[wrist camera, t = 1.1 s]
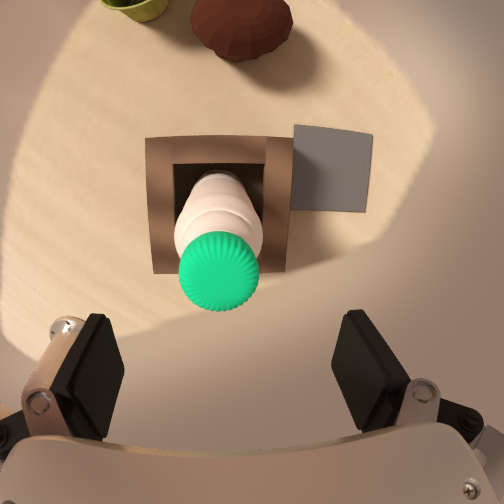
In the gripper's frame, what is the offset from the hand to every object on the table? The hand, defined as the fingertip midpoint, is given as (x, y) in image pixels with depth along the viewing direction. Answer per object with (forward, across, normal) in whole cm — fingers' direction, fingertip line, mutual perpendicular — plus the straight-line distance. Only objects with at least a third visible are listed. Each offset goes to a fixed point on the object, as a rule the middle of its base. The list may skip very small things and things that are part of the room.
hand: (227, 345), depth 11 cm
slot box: (+31, +1, 0) cm, 31 cm away
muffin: (+31, -1, -22) cm, 38 cm away
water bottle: (+31, +1, 0) cm, 31 cm away
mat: (+31, -16, -4) cm, 35 cm away
